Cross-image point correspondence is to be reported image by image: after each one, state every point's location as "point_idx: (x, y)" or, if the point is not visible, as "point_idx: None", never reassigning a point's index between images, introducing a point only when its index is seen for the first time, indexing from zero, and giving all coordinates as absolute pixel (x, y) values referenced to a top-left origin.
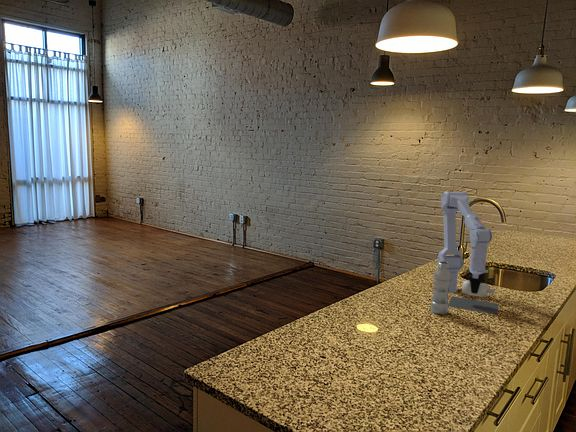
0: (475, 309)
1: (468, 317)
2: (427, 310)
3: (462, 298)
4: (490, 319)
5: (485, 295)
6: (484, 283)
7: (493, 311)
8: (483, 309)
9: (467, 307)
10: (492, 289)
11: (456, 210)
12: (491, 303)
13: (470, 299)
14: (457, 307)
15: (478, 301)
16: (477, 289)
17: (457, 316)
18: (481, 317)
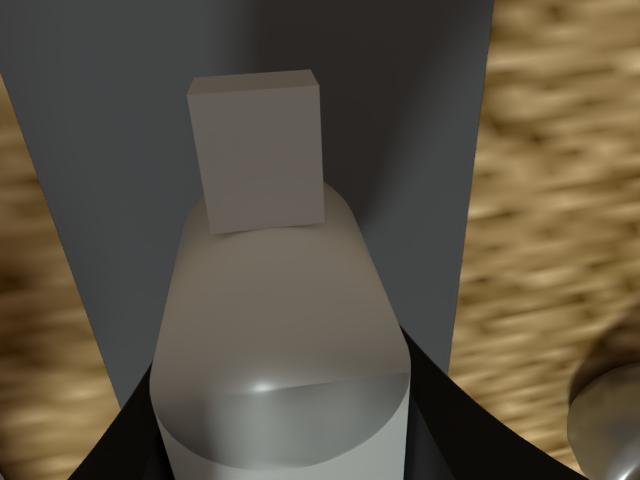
0: (417, 200)
1: (635, 213)
2: (572, 452)
3: (128, 362)
4: (633, 8)
5: (336, 198)
6: (179, 372)
7: (379, 1)
8: (369, 126)
9: (395, 273)
10: (212, 146)
11: None
12: (32, 66)
13: (92, 301)
14: (443, 337)
15: (92, 221)
16: (426, 365)
17: (636, 287)
18: (598, 108)
